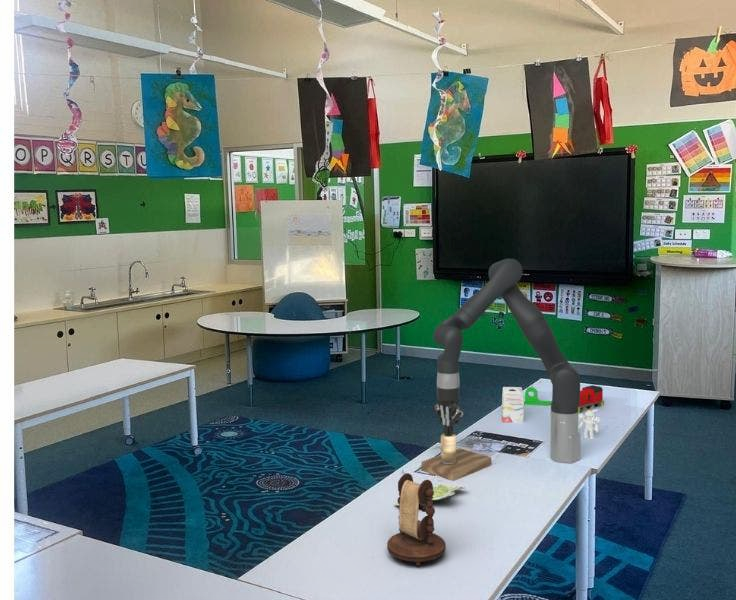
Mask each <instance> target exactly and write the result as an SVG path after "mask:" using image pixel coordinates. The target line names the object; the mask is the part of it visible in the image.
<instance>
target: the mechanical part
mask: <svg viewBox="0 0 736 600" xmlns="http://www.w3.org/2000/svg"><path fill="white" fill-rule="evenodd" d="M530 392H531V393H533V395H532V396H531V395H530V394H529V393H530ZM538 395H539V394H538V390H537V388H535V387H532V386H531V387H527V388H526V390H525V392H524V405H526V406H543V407H544V406H545V407H549V406H551V402H552V400H539V398H538Z"/></svg>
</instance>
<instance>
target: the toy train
mask: <svg viewBox="0 0 736 600" xmlns="http://www.w3.org/2000/svg"><path fill="white" fill-rule="evenodd" d="M603 390H604V389H603V387H601V386H598V385H588V386H583V387H582V388H581V389H580V403H579V407H578V414H583V412H585V411H586V412H587V411H588V410H594V409H595V408H596V407H597V408H599V407H603V406H604V403H605V402H604V400H603V397H604V395H603V394H604V392H603Z"/></svg>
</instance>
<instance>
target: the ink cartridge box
mask: <svg viewBox="0 0 736 600" xmlns="http://www.w3.org/2000/svg"><path fill="white" fill-rule="evenodd" d="M501 395H502V396H501V421H502V423H524V414H525V413H524V410H525V409H524V407H525V406H524V402H525V396H524V394H523V388H522V387H521V386H519V387H518V386H517V387H516V386H503V387H502V394H501Z"/></svg>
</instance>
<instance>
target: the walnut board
mask: <svg viewBox="0 0 736 600" xmlns="http://www.w3.org/2000/svg"><path fill="white" fill-rule="evenodd" d="M456 460H457V463H456V464H454V465H450V466H449V465H445V464H442V463H441V454H440V455H436V456H433V457H431V458H427V459H426V460H425V459H424V460H423V461H421V465H420V467H421V471H422V472H425V473H429V474H432V475H434V476H437V477H440V478H442V479H446V480H449V481H451V482H453V481H456V480H460V479H461V478H465V477H467V476H469V475H471V474H474V473H476V472H479V471H481V470H484V469H487V468H489V467H491V466H492V457H491V456H488V455H484V454H481V453H477V452H475V451H472V450H467V449H464V448H461V447H459V448H456Z"/></svg>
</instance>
